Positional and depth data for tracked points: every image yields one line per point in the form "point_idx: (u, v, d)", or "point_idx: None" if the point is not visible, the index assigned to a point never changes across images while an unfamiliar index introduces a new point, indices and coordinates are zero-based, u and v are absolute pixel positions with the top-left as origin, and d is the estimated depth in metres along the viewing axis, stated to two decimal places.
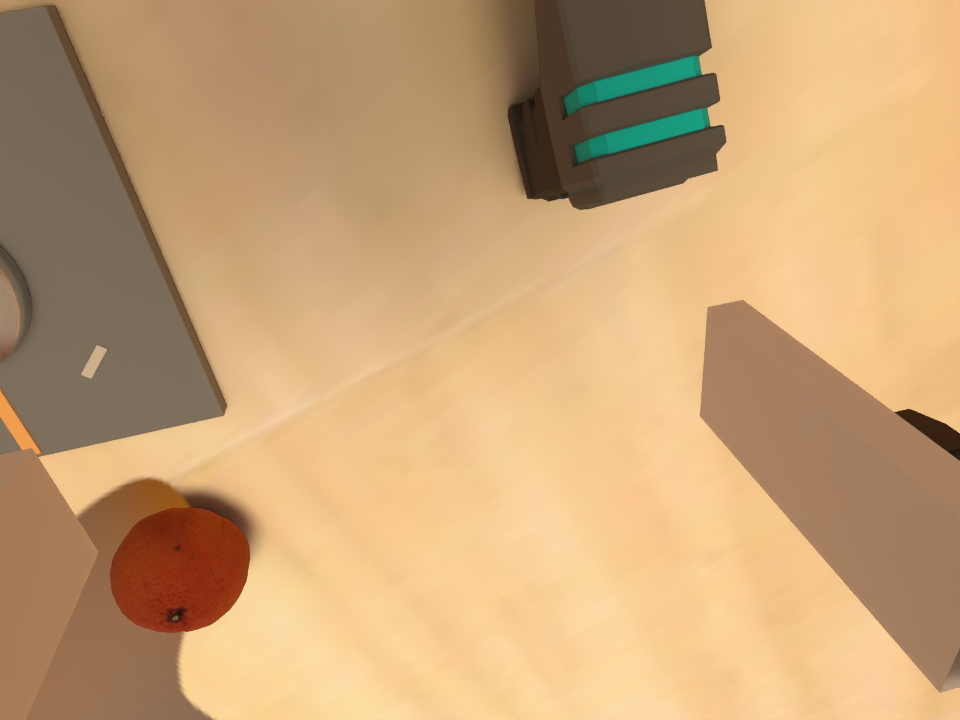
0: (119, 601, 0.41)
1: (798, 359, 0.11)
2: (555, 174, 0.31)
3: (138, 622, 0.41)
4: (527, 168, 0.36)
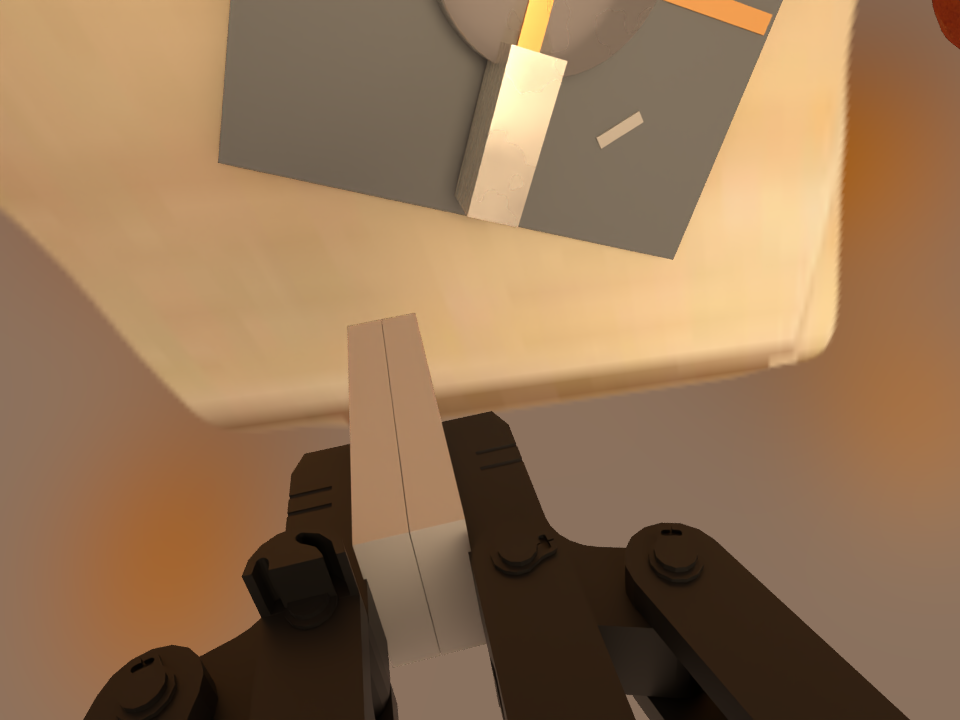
0: None
1: (409, 367, 0.12)
2: None
3: None
4: None
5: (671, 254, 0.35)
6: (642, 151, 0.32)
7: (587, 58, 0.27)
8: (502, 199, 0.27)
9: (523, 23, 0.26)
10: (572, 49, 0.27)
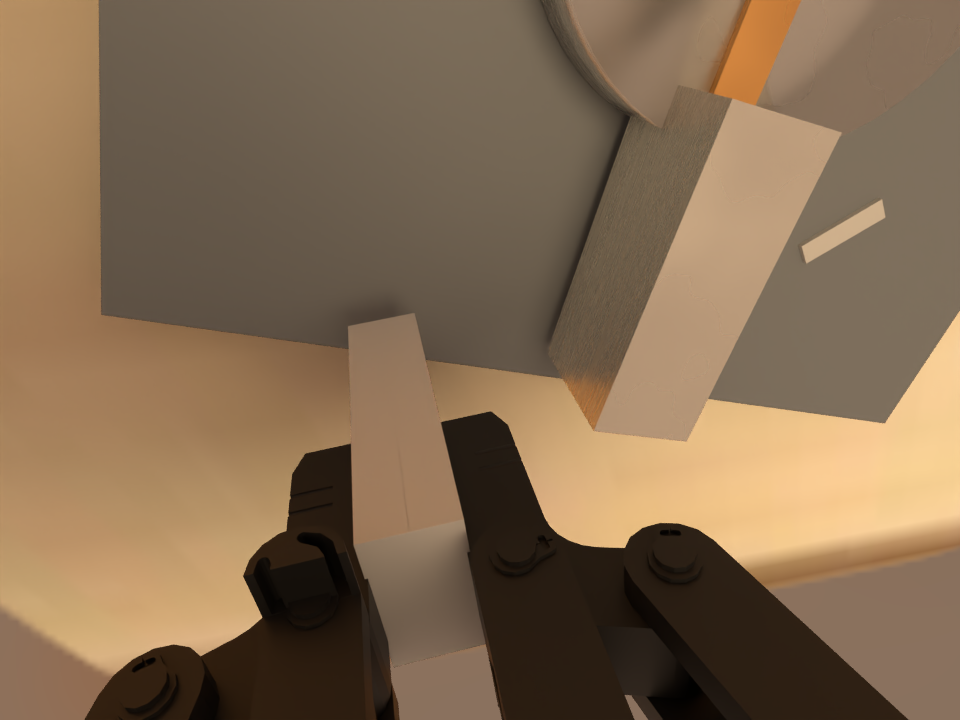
0: None
1: (408, 367, 0.12)
2: None
3: None
4: None
5: (883, 416, 0.21)
6: (871, 264, 0.18)
7: (841, 116, 0.13)
8: (664, 397, 0.14)
9: (731, 47, 0.12)
10: (816, 98, 0.13)
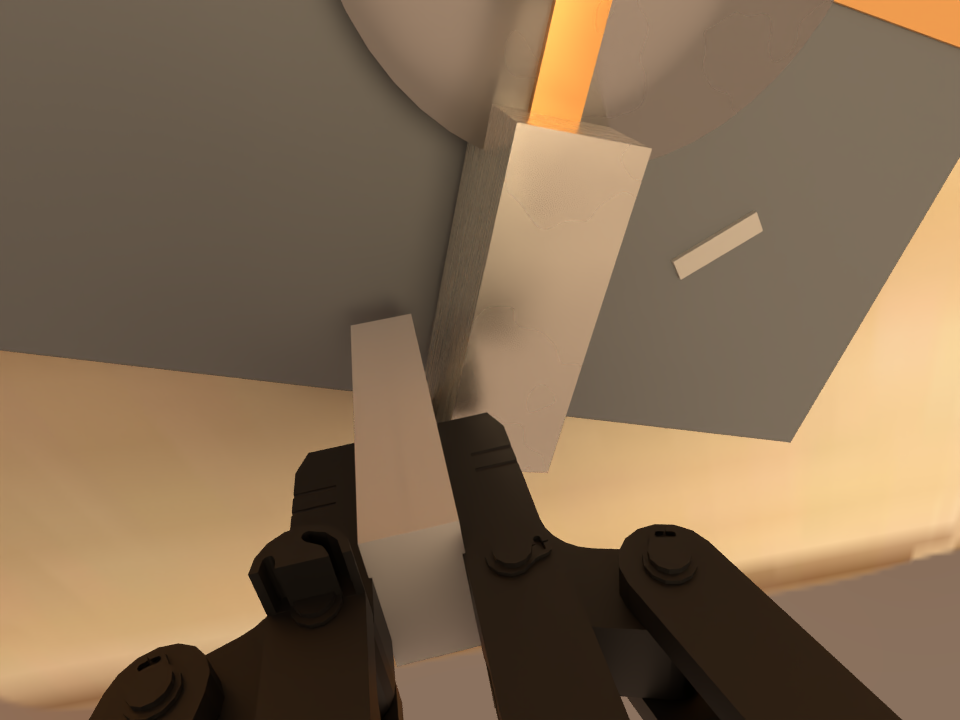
0: None
1: (404, 368, 0.12)
2: None
3: None
4: None
5: (788, 435, 0.20)
6: (755, 279, 0.17)
7: (684, 123, 0.12)
8: (512, 430, 0.13)
9: (542, 60, 0.11)
10: (652, 107, 0.12)
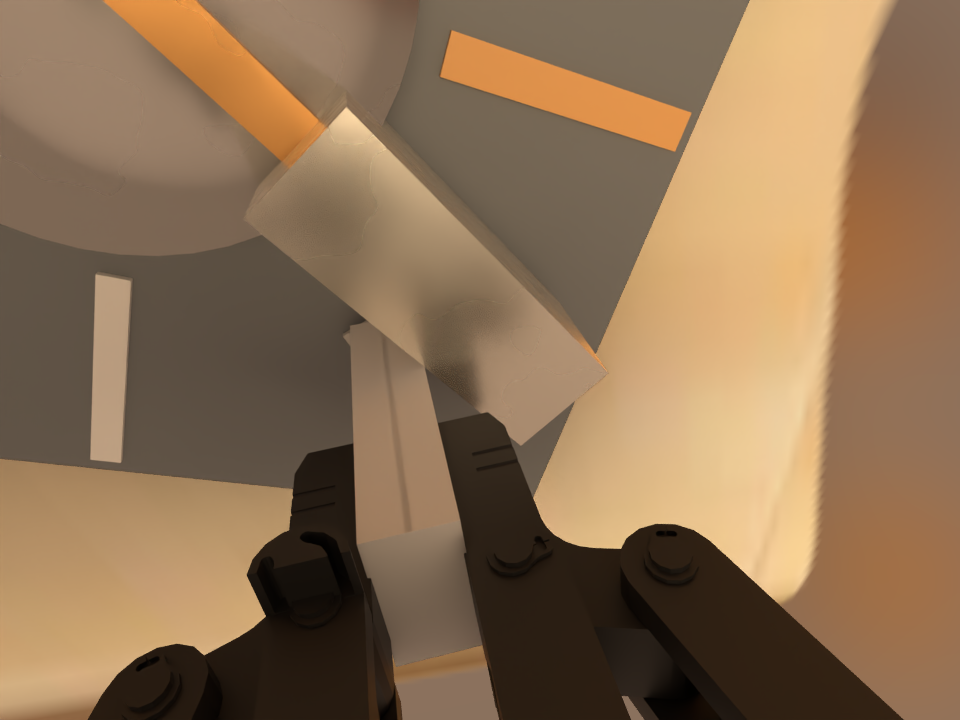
0: None
1: (406, 368, 0.12)
2: None
3: None
4: None
5: None
6: None
7: (391, 6, 0.11)
8: (537, 377, 0.12)
9: (241, 122, 0.11)
10: (353, 34, 0.11)
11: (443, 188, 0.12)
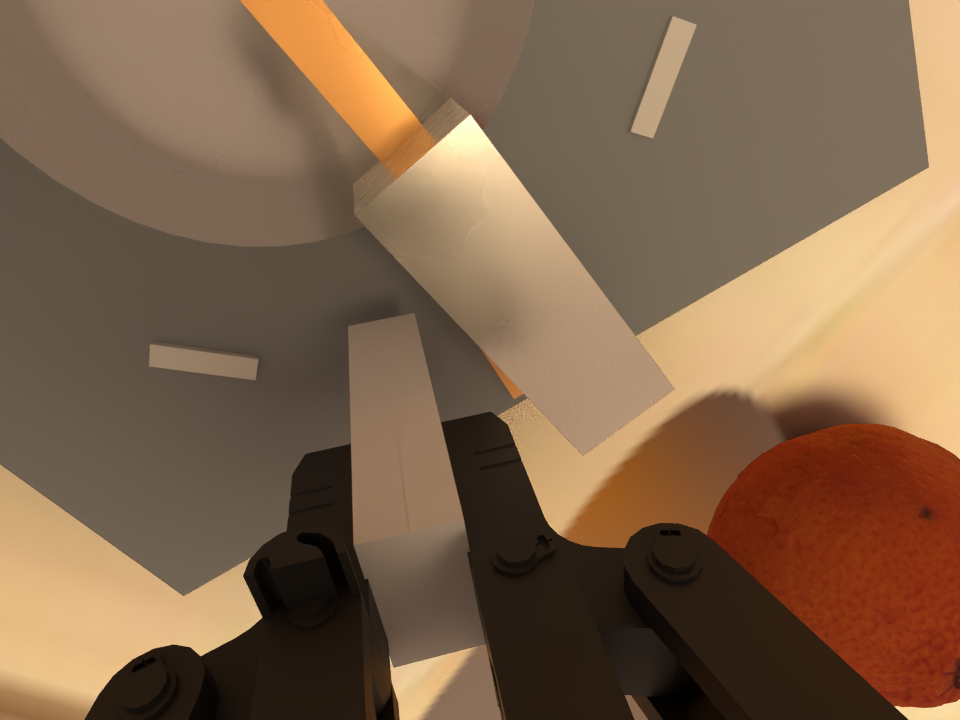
0: None
1: (408, 367, 0.12)
2: None
3: None
4: None
5: (185, 587, 0.19)
6: (228, 419, 0.16)
7: (505, 21, 0.11)
8: (608, 388, 0.13)
9: (348, 121, 0.11)
10: (465, 44, 0.11)
11: None
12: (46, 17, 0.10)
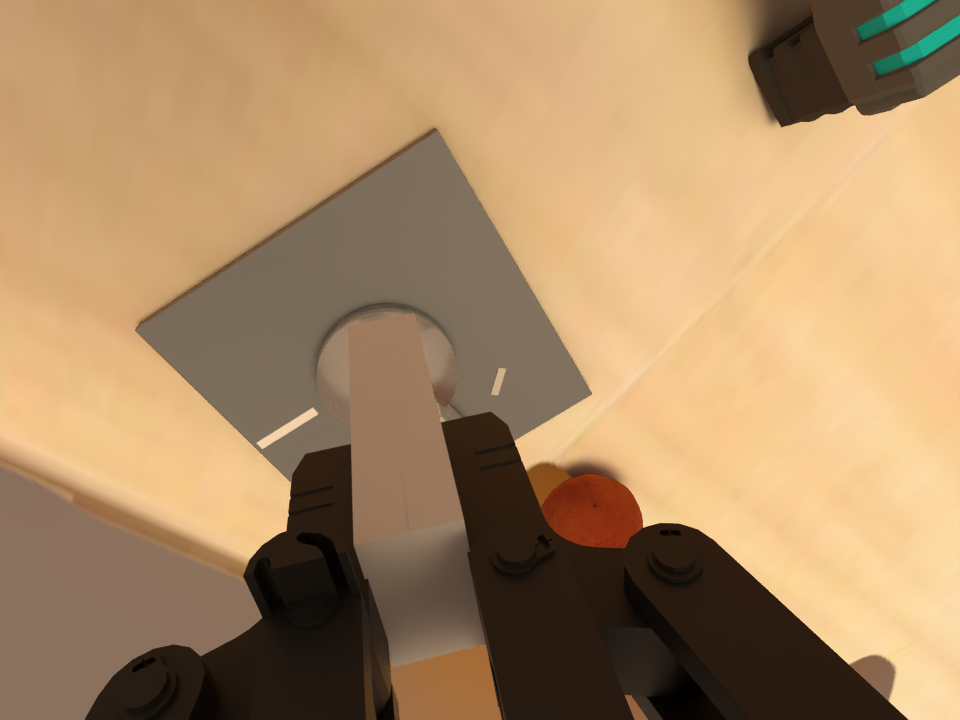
0: None
1: (408, 367, 0.12)
2: (837, 94, 0.36)
3: None
4: (781, 100, 0.42)
5: None
6: None
7: (450, 386, 0.46)
8: None
9: None
10: (440, 391, 0.46)
11: None
12: (349, 397, 0.45)
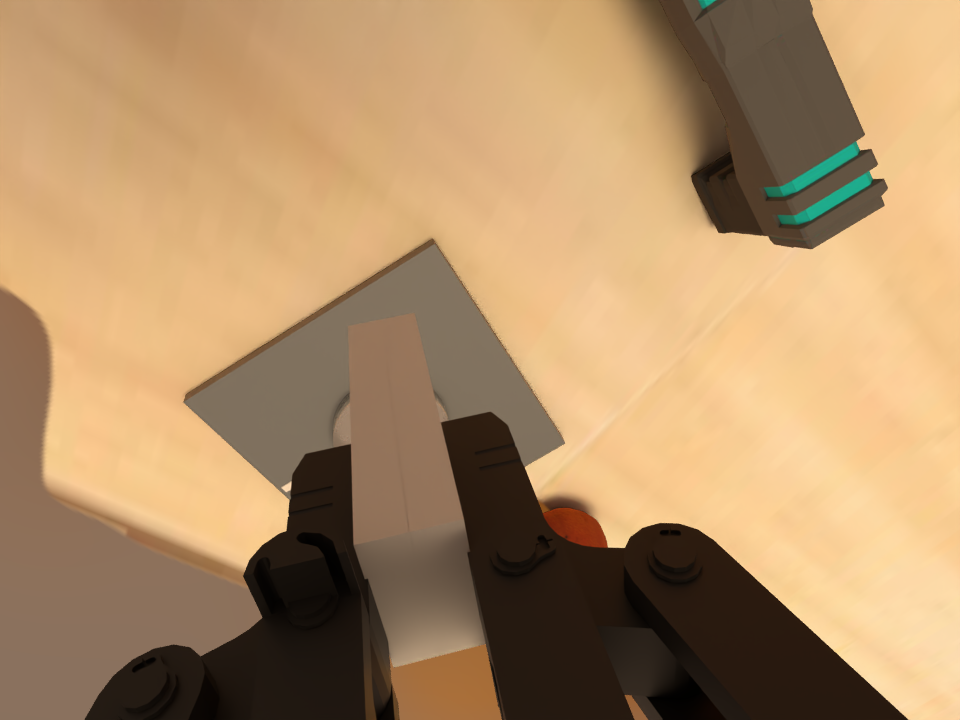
0: None
1: (408, 367, 0.12)
2: (755, 225, 0.45)
3: None
4: (717, 214, 0.50)
5: None
6: None
7: None
8: None
9: None
10: None
11: None
12: None
